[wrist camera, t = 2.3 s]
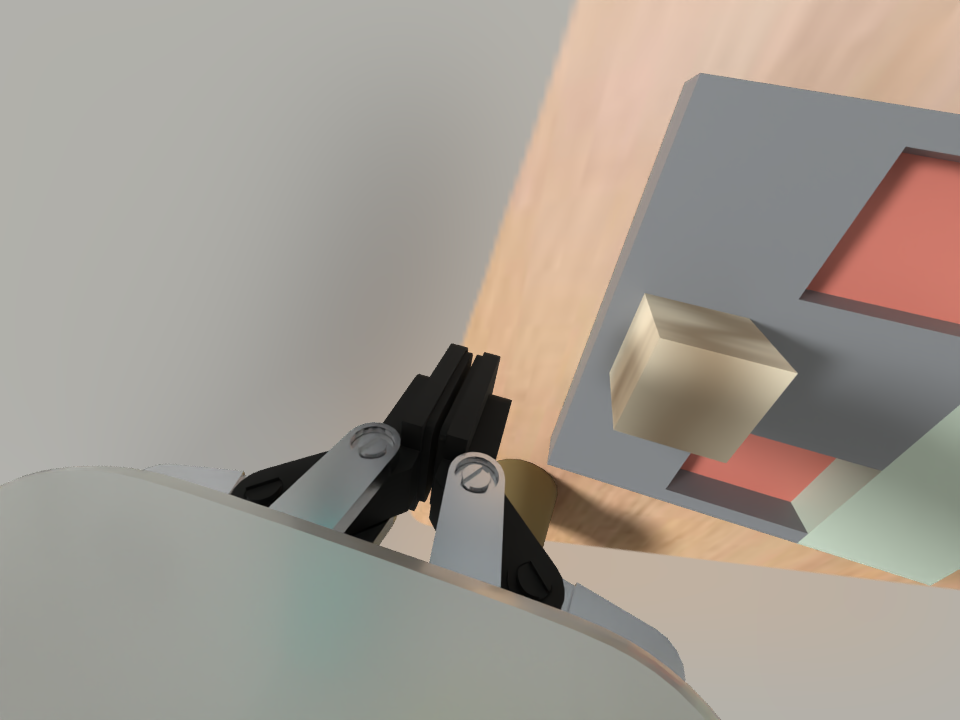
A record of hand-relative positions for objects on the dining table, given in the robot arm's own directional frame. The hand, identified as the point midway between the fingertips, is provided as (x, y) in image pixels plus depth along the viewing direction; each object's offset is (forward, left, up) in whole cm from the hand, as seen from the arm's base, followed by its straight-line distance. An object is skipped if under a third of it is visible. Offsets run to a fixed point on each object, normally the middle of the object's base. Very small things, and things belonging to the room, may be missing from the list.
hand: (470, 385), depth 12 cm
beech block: (-8, 0, -7) cm, 11 cm away
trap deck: (-16, 0, -10) cm, 18 cm away
